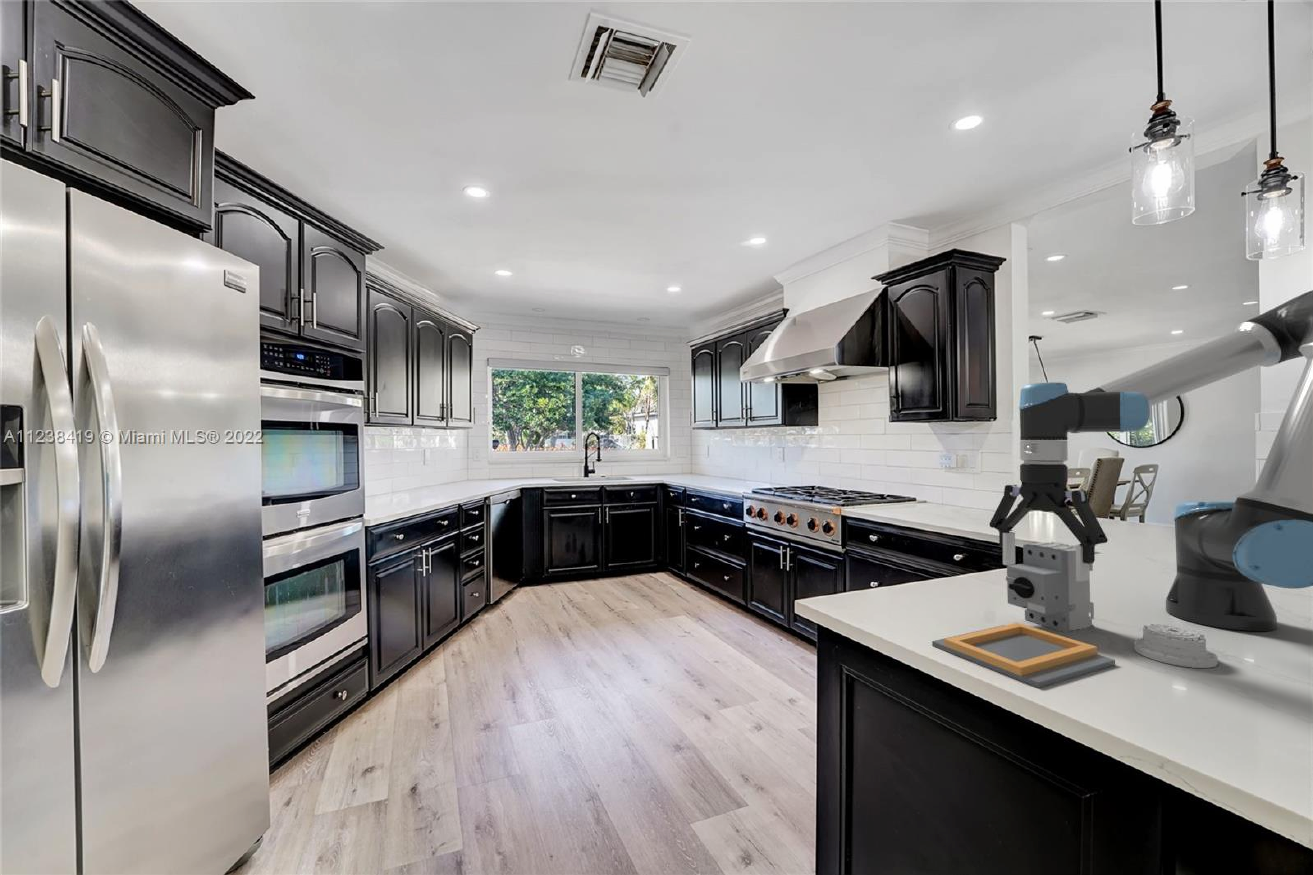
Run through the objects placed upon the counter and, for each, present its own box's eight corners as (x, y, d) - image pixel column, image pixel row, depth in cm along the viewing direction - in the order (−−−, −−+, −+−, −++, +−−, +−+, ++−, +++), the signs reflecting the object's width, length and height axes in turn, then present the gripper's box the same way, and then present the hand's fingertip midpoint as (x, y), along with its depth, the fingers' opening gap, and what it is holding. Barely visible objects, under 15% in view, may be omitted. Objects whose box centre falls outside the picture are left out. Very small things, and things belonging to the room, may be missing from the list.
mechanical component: (1160, 668, 85) (1235, 672, 83) (1159, 640, 85) (1235, 643, 83) (1120, 644, 95) (1186, 647, 93) (1119, 619, 95) (1185, 622, 93)
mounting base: (1004, 629, 103) (1004, 618, 103) (1115, 664, 86) (1114, 652, 86) (932, 645, 95) (932, 634, 95) (1038, 688, 79) (1038, 674, 79)
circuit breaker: (1001, 623, 106) (999, 547, 106) (1054, 615, 110) (1053, 541, 110) (1039, 636, 99) (1037, 554, 99) (1094, 627, 103) (1092, 548, 103)
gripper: (970, 460, 115) (970, 560, 115) (1106, 466, 92) (1106, 590, 92) (994, 460, 118) (994, 557, 117) (1131, 465, 95) (1131, 585, 95)
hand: (1043, 572), depth 105 cm, fingers open, 13 cm apart
